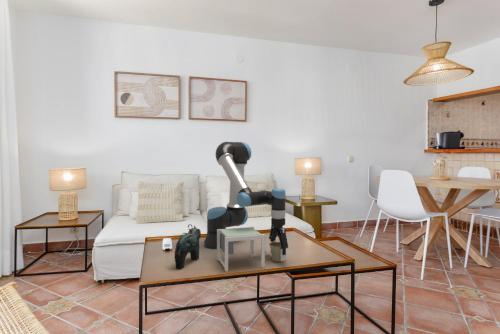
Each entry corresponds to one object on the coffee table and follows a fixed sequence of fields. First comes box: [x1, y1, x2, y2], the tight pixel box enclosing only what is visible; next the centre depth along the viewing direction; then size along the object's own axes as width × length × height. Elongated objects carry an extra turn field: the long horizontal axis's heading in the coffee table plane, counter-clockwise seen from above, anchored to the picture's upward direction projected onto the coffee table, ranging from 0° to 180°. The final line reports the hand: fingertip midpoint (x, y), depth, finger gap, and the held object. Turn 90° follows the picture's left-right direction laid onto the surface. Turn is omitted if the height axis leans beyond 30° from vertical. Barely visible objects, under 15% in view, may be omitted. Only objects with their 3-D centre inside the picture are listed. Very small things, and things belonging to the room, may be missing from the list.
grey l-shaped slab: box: [220, 227, 261, 255], centre depth 164 cm, size 18×14×9 cm
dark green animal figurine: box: [174, 223, 202, 270], centre depth 164 cm, size 20×6×20 cm, turn 159°
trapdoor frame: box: [216, 226, 266, 272], centre depth 164 cm, size 20×18×16 cm
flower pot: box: [268, 241, 282, 263], centre depth 170 cm, size 9×9×9 cm
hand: (277, 256), depth 170 cm, fingers open, 13 cm apart
